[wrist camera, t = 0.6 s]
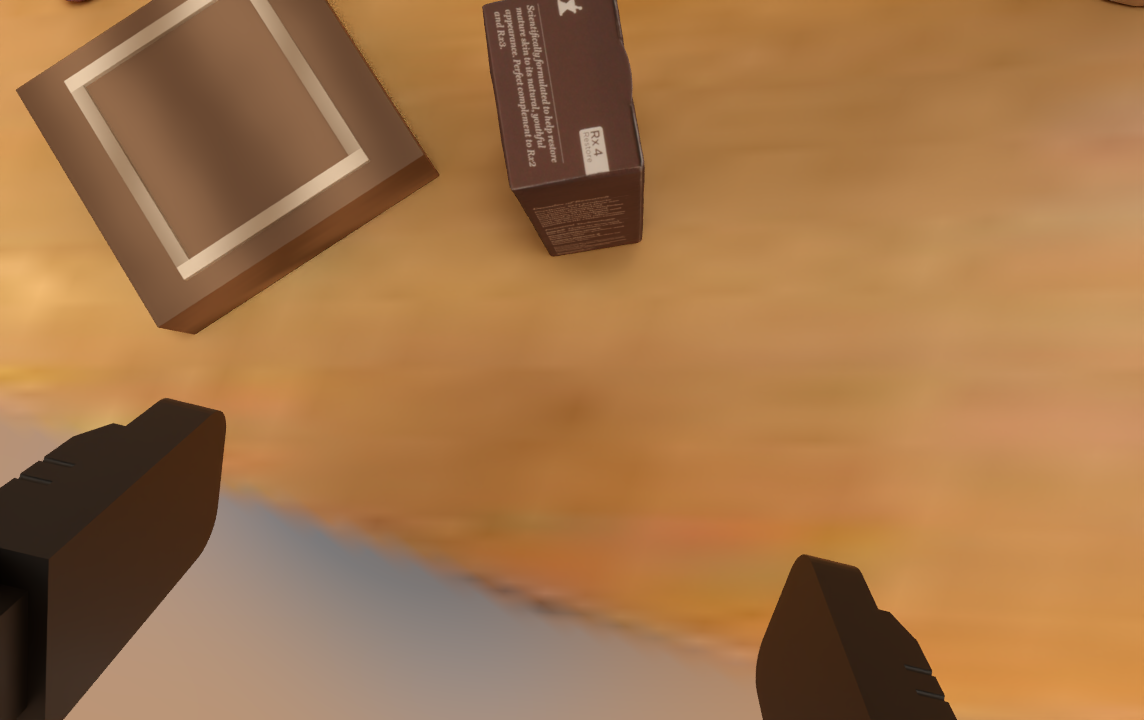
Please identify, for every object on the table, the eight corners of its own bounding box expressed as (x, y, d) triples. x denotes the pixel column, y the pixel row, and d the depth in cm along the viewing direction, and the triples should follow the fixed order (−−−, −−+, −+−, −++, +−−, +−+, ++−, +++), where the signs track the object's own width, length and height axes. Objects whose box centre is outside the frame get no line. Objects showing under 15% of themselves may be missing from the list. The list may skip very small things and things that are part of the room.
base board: (300, -41, 38) (271, -82, 35) (439, 175, 37) (422, 153, 34) (62, 115, 38) (12, 88, 35) (194, 334, 37) (155, 326, 34)
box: (521, 131, 37) (477, -4, 25) (622, 114, 37) (626, -31, 25) (542, 264, 37) (506, 191, 25) (644, 247, 36) (658, 166, 24)
